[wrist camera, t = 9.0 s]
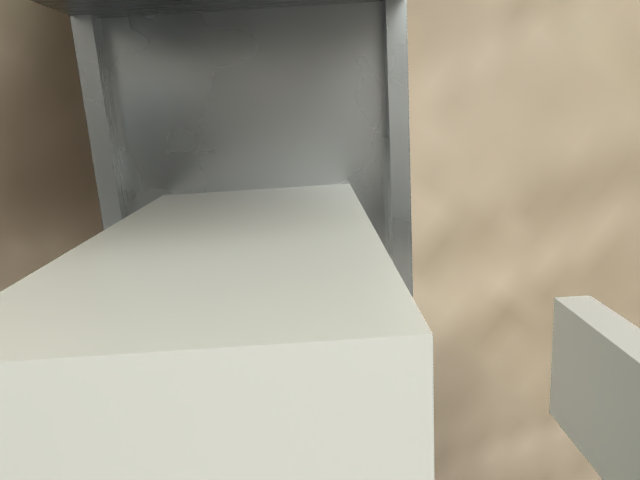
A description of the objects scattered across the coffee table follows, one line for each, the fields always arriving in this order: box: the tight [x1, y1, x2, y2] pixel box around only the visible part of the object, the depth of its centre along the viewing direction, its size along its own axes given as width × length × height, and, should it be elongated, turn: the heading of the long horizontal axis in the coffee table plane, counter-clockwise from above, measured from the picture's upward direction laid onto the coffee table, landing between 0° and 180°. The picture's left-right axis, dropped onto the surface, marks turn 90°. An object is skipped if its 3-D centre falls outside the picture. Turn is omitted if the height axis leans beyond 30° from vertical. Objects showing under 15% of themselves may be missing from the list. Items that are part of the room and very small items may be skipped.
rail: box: [31, 0, 413, 298], centre depth 11 cm, size 8×22×10 cm, turn 3°
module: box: [0, 184, 434, 480], centre depth 10 cm, size 5×7×10 cm
